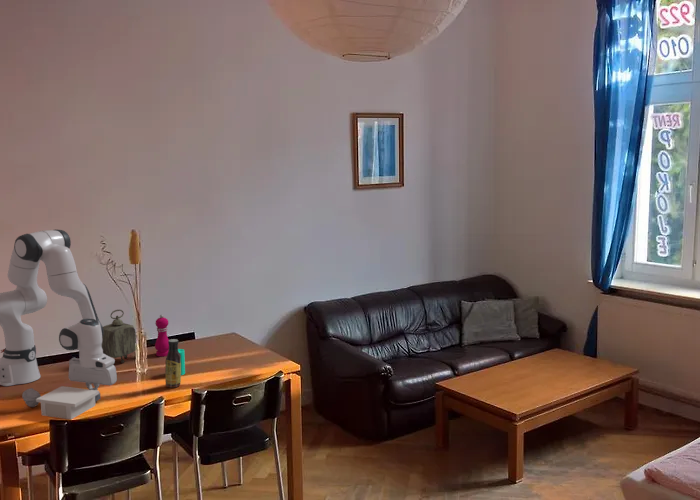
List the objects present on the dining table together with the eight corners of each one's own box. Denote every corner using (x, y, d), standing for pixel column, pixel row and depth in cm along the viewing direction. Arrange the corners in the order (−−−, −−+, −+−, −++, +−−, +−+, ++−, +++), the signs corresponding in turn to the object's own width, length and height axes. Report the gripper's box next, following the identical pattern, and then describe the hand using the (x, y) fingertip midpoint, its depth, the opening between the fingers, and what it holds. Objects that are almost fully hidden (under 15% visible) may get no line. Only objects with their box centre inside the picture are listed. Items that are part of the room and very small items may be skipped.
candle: (179, 370, 299) (178, 344, 297) (187, 373, 295) (187, 347, 293) (168, 373, 294) (167, 347, 292) (176, 376, 290) (175, 350, 288)
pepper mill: (164, 351, 326) (162, 311, 323) (173, 354, 322) (172, 314, 319) (152, 355, 320) (150, 314, 317) (161, 358, 316) (160, 317, 313)
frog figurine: (30, 402, 260) (29, 385, 259) (45, 404, 258) (44, 387, 257) (19, 408, 254) (17, 390, 253) (34, 410, 252) (32, 392, 251)
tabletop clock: (126, 356, 318) (124, 305, 314) (138, 360, 313) (136, 308, 309) (100, 364, 306) (97, 311, 302) (112, 368, 301) (109, 314, 297)
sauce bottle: (162, 387, 278) (160, 341, 275) (171, 382, 284) (170, 337, 281) (175, 389, 275) (174, 343, 272) (184, 384, 281) (183, 339, 278)
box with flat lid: (37, 414, 248) (36, 398, 247) (62, 401, 262) (61, 386, 261) (75, 420, 244) (74, 404, 243) (99, 406, 257) (99, 390, 256)
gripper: (63, 359, 264) (65, 393, 266) (108, 364, 258) (110, 398, 260) (74, 355, 270) (76, 387, 272) (118, 359, 264) (119, 392, 266)
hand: (93, 393), depth 266 cm, fingers closed
